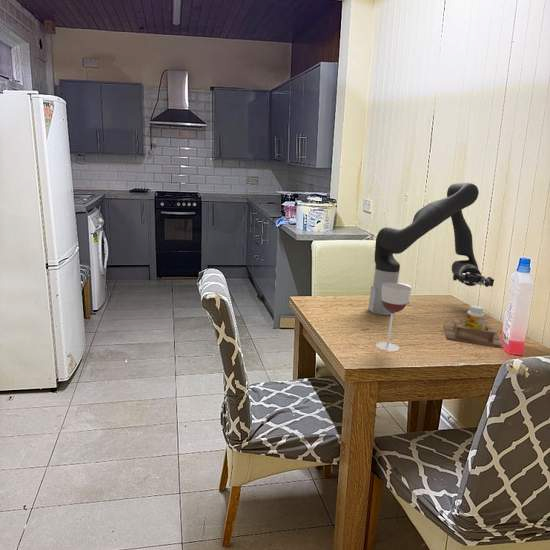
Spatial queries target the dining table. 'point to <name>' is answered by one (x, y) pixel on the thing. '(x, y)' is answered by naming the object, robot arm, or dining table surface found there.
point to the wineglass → (393, 307)
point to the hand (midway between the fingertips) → (475, 282)
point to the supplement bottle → (474, 317)
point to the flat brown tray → (472, 334)
